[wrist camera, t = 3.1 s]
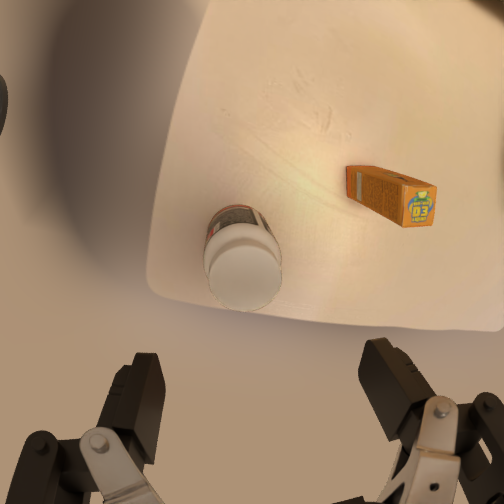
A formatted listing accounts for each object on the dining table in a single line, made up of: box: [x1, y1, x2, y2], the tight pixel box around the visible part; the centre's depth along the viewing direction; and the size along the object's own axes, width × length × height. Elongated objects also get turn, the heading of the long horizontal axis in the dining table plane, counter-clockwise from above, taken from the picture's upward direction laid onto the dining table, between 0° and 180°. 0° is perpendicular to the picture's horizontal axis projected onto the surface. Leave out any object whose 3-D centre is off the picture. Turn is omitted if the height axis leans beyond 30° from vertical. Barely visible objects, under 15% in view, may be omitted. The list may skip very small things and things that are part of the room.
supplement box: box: [347, 166, 437, 228], centre depth 22 cm, size 3×3×10 cm
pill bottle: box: [203, 205, 282, 312], centre depth 23 cm, size 6×6×10 cm
